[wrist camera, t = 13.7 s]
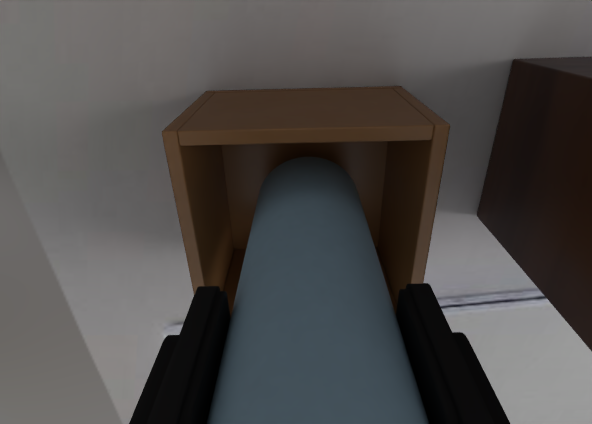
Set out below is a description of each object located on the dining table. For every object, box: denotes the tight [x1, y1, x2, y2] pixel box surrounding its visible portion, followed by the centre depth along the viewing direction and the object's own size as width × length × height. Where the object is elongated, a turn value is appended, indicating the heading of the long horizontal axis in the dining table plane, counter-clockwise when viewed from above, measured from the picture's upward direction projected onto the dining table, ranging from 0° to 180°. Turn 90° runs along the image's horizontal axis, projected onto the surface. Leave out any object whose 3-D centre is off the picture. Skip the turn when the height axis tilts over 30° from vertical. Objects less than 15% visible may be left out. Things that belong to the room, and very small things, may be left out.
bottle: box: [207, 157, 429, 424], centre depth 12 cm, size 5×5×13 cm
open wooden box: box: [162, 86, 450, 318], centre depth 17 cm, size 9×9×6 cm
